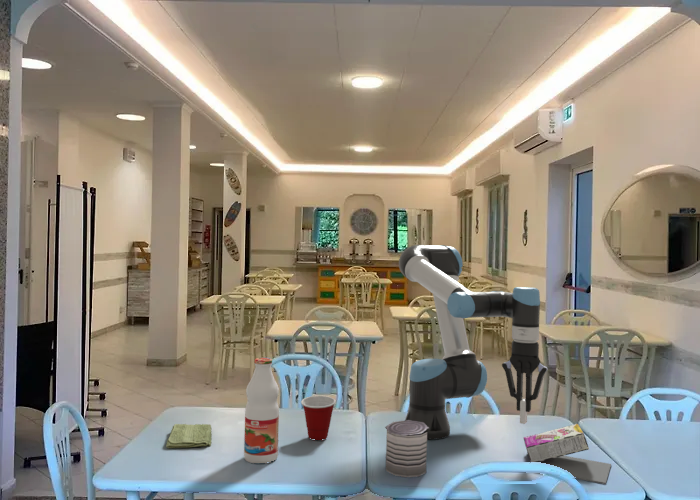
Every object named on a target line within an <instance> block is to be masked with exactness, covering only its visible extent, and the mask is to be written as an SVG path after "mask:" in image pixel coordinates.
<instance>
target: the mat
mask: <svg viewBox="0 0 700 500" xmlns="http://www.w3.org/2000/svg"><path fill="white" fill-rule="evenodd" d="M540 462H541V463H546V464H550V465H554V466H557V467H560V468H562V469H564V470H567V471H568V472H570V473H571V474H572V475H573V476H574V477H576V478H577V479H576V480H582V481H587V482H590V483H591V482H592V483H597V484H600V485H601V484H602V485H606V484H607V480H608V477H609V473H610V471H611V467H612V463H609V462H608V463H606V462H602V461H596V460H590V459H585V458H579V457H574V456H568V455H564V456H560V457H556V458H552V459H548V460H544V461H540Z"/></svg>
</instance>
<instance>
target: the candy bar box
mask: <svg viewBox="0 0 700 500" xmlns="http://www.w3.org/2000/svg"><path fill="white" fill-rule="evenodd" d="M523 441H524V445H525V448H526V451H527V456H528V459H529V461H530V463H531V462H540V461H544V460H548V459H552V458H556V457H560V456H568V455H573V454H576V453H580V452H585V451H589V450H590V447H589V445H588V441H587V438H586V436H585V434H584V432H583V430H582V428H581V427H580V425H579V424H578V423H574V424H571V425H567V426H563V427H559V428H556V429H552V430H548V431H544V432H540V433H535V434H532V435H529V436H524V437H523Z"/></svg>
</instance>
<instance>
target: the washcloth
mask: <svg viewBox="0 0 700 500" xmlns="http://www.w3.org/2000/svg"><path fill="white" fill-rule="evenodd" d="M211 446H212V425H211V424H206V423H202V424H199V423H196V424H187V423H184V424H183V423H175V424H174V425H172V428H171V430H170V434H169V437H168V438H167V441H166V445H165V447H166V448H167V449H182V448H184V449H186V448H198V447H200V448H201V447H211Z"/></svg>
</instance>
